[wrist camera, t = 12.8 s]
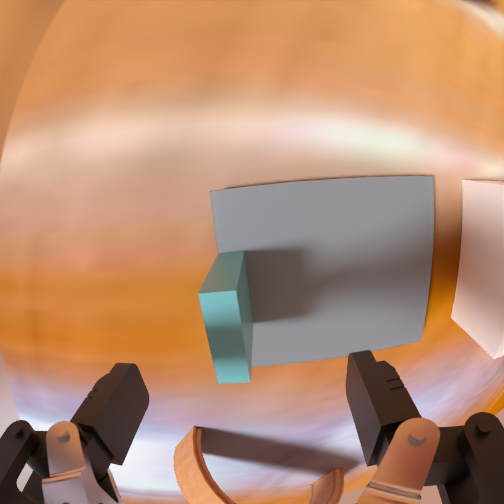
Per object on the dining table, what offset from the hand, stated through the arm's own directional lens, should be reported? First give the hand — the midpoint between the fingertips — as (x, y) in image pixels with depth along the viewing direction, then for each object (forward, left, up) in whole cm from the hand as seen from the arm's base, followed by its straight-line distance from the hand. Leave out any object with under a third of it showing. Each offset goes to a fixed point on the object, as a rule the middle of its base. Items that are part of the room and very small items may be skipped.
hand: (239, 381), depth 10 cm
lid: (-6, 0, -11) cm, 12 cm away
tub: (-24, 0, -10) cm, 26 cm away
